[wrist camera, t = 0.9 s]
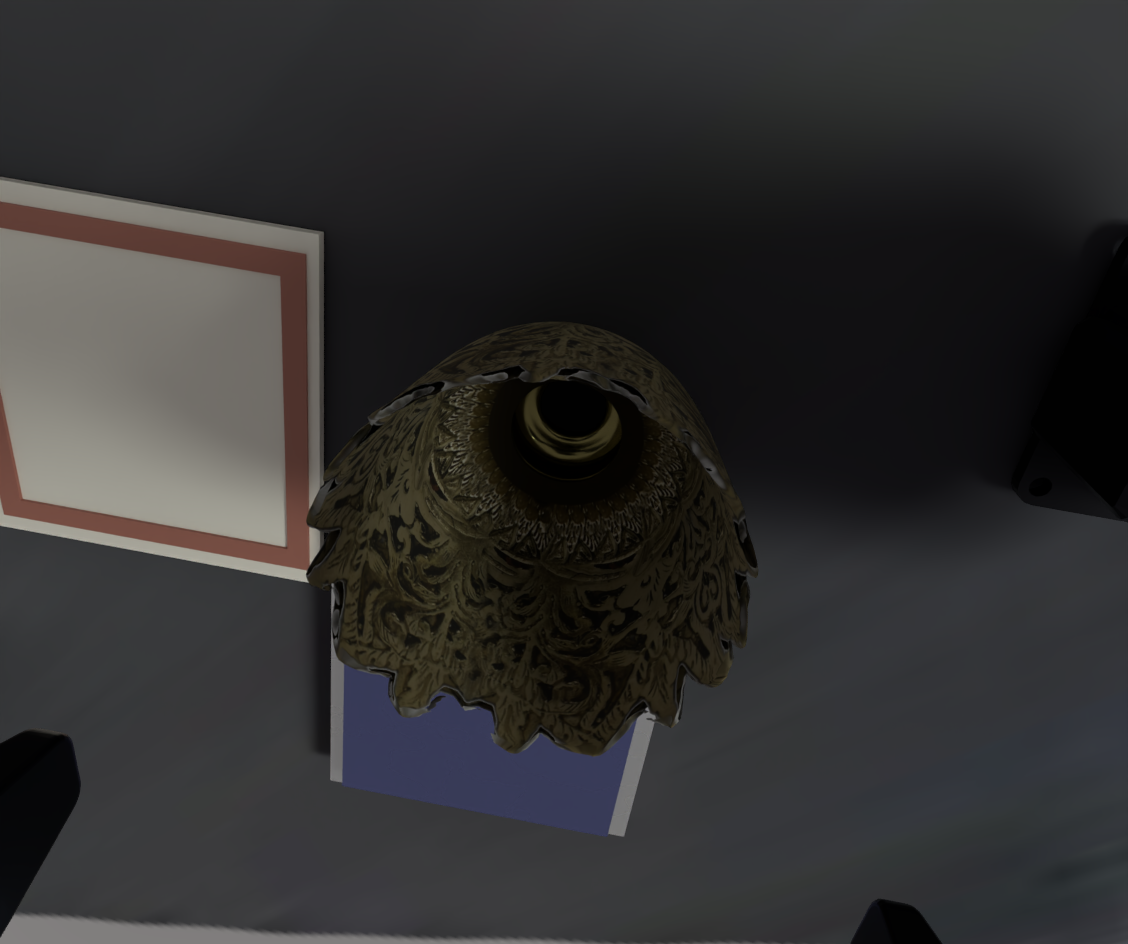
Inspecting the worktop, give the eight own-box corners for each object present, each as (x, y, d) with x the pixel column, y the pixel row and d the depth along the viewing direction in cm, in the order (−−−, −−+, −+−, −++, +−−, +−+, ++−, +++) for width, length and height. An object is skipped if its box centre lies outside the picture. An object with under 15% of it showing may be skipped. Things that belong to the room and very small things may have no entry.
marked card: (323, 232, 19) (317, 235, 18) (324, 578, 23) (318, 586, 23) (-72, 164, 19) (-86, 166, 19) (7, 520, 24) (-3, 526, 23)
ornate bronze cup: (783, 336, 19) (855, 508, 12) (645, 570, 22) (636, 813, 15) (487, 200, 18) (372, 294, 11) (391, 463, 21) (257, 665, 14)
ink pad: (683, 586, 22) (685, 623, 21) (624, 810, 26) (622, 853, 25) (344, 524, 22) (323, 556, 21) (341, 756, 27) (323, 795, 25)
